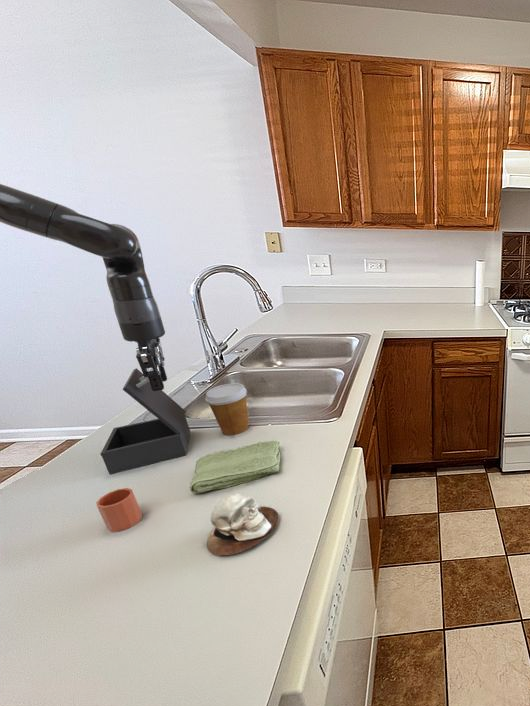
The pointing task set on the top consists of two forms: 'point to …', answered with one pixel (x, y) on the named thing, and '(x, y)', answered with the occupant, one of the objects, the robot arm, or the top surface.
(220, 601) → the top surface
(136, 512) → the creamer cup
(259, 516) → the skull
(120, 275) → the robot arm
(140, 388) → the lid
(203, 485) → the washcloth
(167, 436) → the dark grey box
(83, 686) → the top surface
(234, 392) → the disposable coffee cup
